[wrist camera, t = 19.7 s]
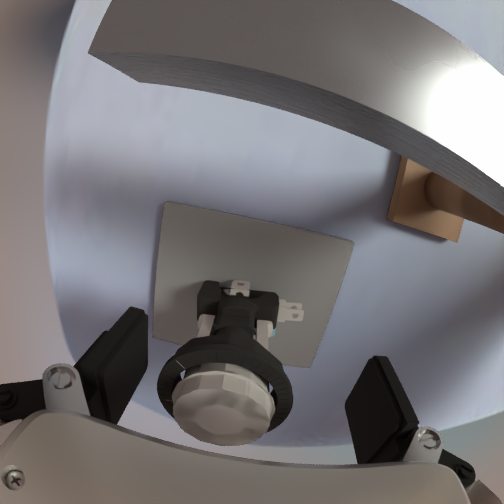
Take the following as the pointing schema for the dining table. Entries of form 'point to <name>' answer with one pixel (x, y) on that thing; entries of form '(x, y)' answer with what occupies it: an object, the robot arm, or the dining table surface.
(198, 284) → the rubber mat
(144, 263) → the dining table surface
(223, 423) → the push button
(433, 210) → the post
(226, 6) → the steel strap
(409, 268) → the dining table surface
